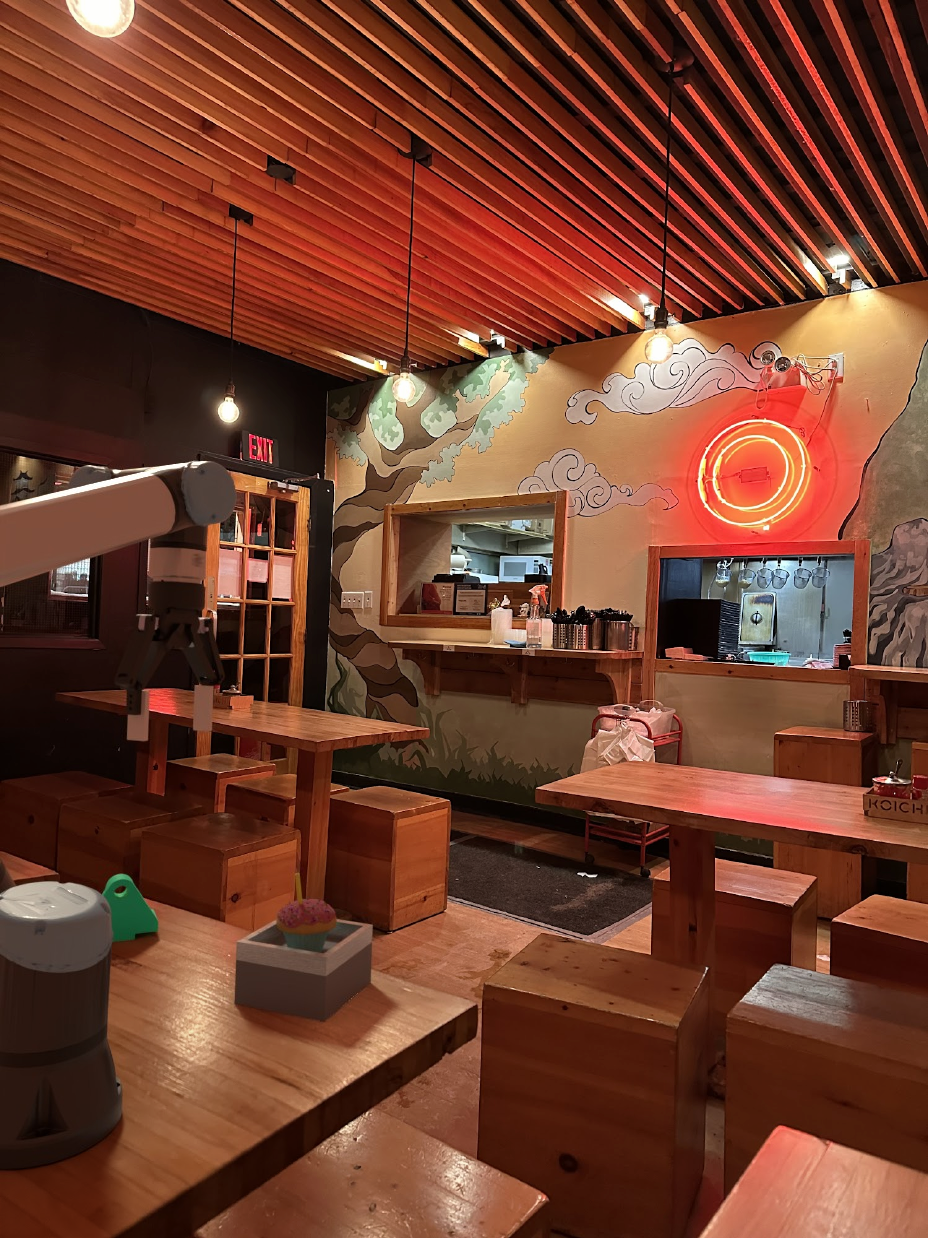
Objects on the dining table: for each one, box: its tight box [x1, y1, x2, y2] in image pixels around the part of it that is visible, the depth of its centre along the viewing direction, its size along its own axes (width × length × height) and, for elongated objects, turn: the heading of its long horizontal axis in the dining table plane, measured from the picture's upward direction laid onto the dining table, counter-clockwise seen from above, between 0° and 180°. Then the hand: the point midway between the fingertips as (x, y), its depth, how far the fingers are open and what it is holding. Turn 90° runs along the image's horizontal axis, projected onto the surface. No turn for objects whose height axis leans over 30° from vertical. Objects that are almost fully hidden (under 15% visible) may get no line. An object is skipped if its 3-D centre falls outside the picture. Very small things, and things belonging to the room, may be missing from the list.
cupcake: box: [276, 868, 338, 953], centre depth 122 cm, size 9×8×12 cm
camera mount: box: [102, 873, 159, 943], centre depth 143 cm, size 12×8×10 cm, turn 117°
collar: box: [235, 918, 374, 976], centre depth 122 cm, size 14×14×2 cm
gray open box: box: [234, 936, 373, 1023], centre depth 121 cm, size 14×14×6 cm
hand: (171, 735), depth 117 cm, fingers open, 13 cm apart
